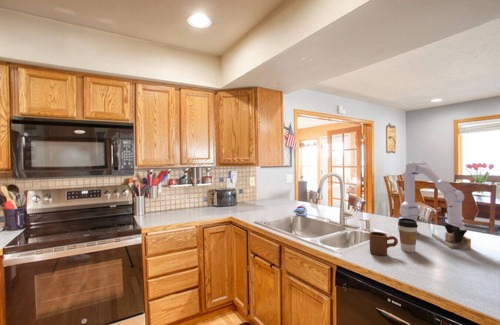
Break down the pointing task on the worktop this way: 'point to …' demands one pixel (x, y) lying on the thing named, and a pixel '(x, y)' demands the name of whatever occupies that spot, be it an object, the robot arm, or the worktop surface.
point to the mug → (381, 243)
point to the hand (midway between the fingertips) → (454, 240)
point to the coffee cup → (408, 234)
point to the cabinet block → (451, 238)
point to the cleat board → (465, 244)
